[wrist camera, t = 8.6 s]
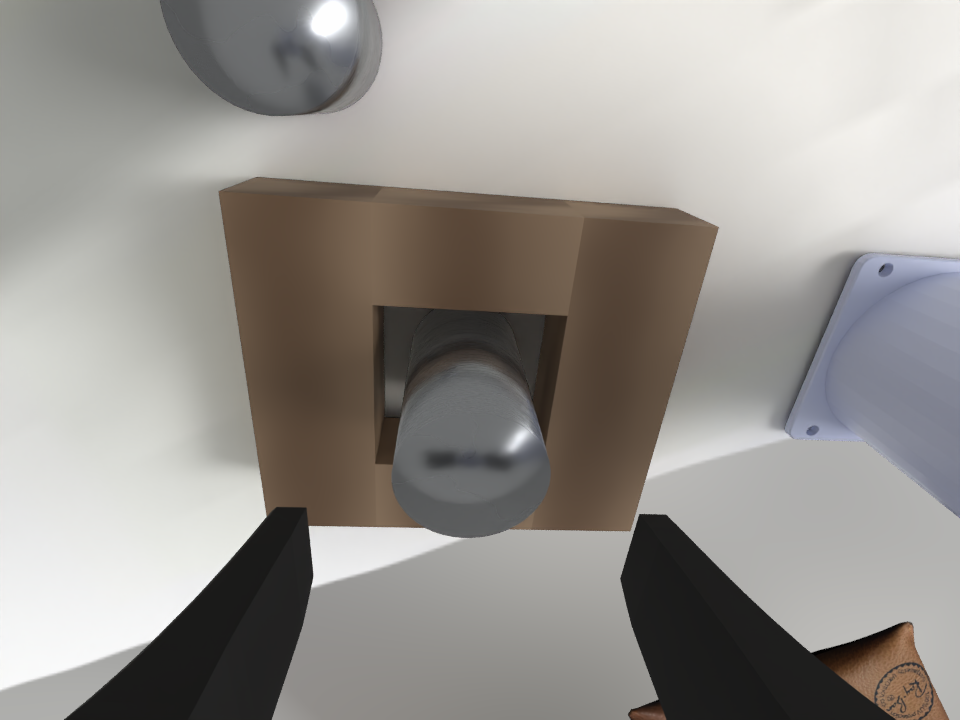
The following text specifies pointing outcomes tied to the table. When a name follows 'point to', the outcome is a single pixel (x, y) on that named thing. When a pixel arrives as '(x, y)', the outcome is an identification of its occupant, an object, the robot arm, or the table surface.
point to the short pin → (280, 51)
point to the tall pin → (468, 429)
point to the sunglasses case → (871, 675)
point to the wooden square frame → (458, 286)
